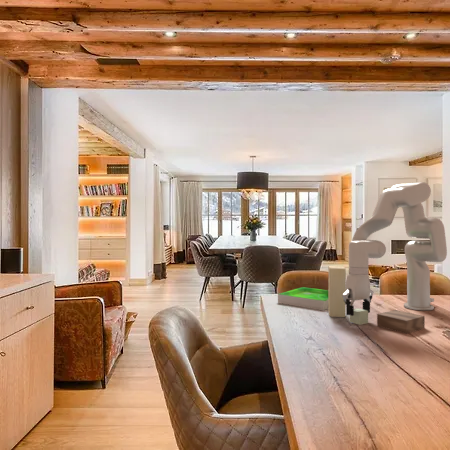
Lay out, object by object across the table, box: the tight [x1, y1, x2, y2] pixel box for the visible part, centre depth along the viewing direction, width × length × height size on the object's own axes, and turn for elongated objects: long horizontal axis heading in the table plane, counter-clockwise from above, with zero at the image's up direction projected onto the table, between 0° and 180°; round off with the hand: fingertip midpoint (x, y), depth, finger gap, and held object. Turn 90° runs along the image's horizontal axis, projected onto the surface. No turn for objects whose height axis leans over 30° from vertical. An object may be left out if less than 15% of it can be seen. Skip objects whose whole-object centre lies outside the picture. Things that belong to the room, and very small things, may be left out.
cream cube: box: [349, 308, 369, 325], centre depth 149 cm, size 5×5×5 cm
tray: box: [277, 286, 328, 311], centre depth 188 cm, size 25×25×5 cm
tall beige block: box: [327, 265, 347, 318], centre depth 161 cm, size 8×7×21 cm
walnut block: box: [376, 309, 426, 334], centre depth 142 cm, size 12×12×5 cm
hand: (358, 313), depth 149 cm, fingers open, 9 cm apart
